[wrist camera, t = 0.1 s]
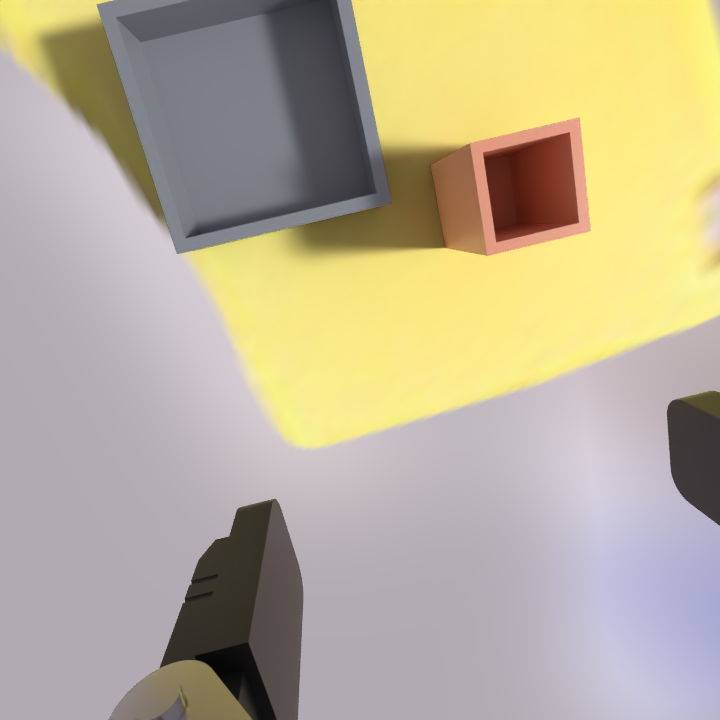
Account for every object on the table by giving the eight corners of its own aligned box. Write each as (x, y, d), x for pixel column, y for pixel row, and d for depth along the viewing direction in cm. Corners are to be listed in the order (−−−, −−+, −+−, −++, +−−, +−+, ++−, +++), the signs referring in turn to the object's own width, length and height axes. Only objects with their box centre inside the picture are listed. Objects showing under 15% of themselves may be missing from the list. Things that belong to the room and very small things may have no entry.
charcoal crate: (129, 37, 33) (96, 4, 28) (338, -12, 33) (340, -52, 28) (196, 250, 37) (176, 254, 32) (382, 206, 37) (391, 203, 32)
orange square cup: (430, 165, 36) (469, 143, 27) (511, 146, 36) (579, 117, 27) (445, 247, 38) (487, 255, 28) (522, 229, 38) (590, 231, 28)
